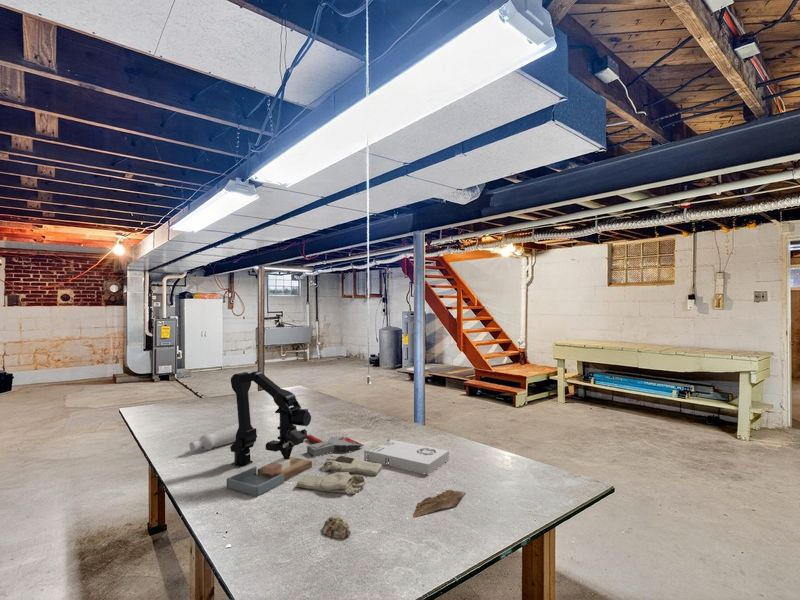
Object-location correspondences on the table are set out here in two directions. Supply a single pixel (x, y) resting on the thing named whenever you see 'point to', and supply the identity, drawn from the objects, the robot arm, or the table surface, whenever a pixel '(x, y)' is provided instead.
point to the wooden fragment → (438, 502)
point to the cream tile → (283, 463)
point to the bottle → (215, 438)
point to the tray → (253, 482)
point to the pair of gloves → (341, 475)
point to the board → (290, 468)
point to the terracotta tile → (272, 468)
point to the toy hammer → (331, 445)
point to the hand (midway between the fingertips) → (286, 461)
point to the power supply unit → (408, 456)
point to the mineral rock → (336, 528)
